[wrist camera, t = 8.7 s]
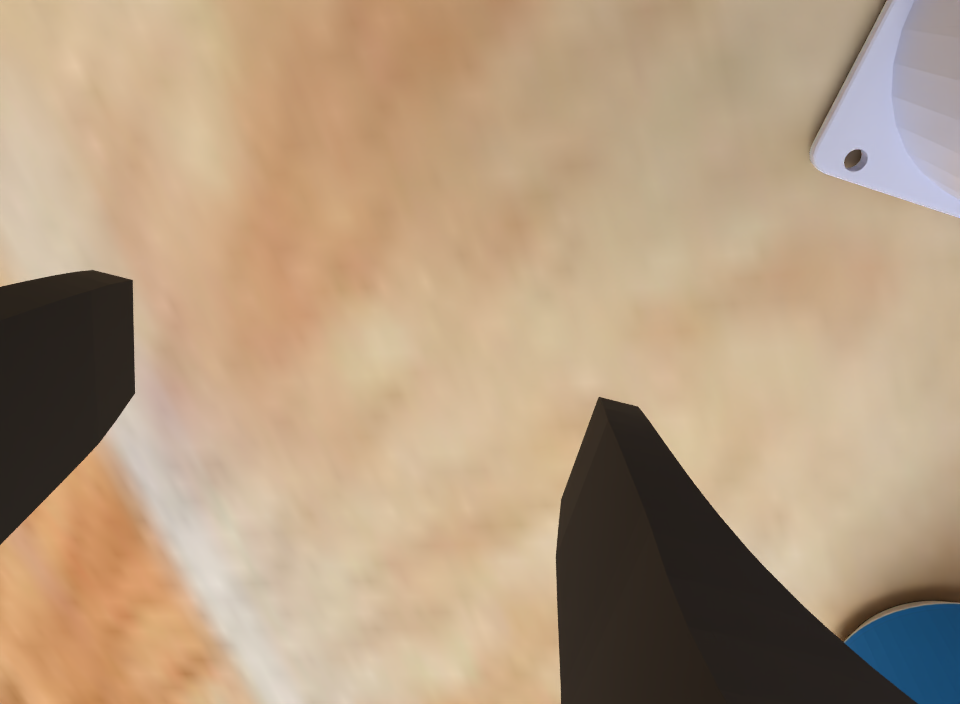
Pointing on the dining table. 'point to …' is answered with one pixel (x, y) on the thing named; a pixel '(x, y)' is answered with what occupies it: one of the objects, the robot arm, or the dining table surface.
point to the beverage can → (915, 649)
